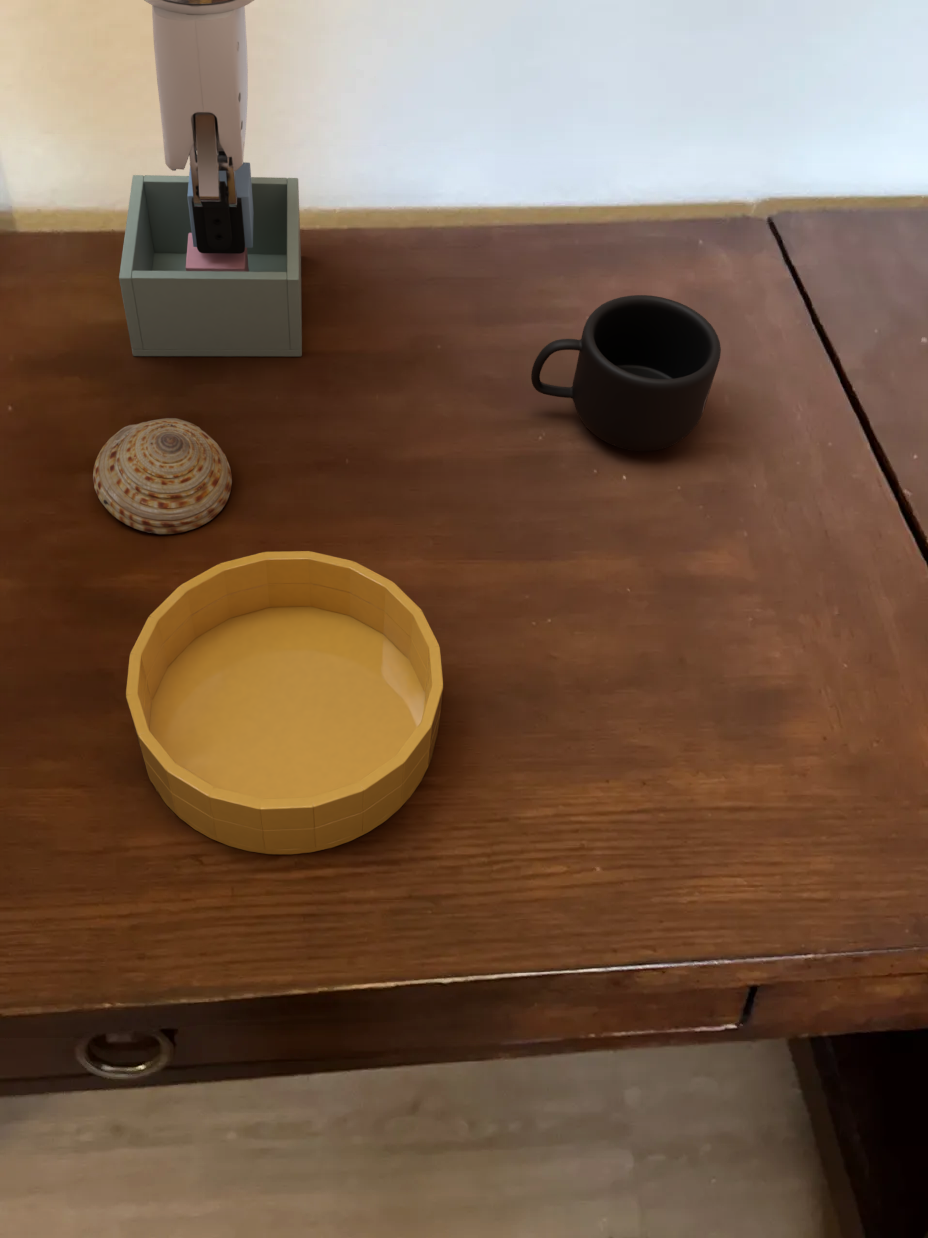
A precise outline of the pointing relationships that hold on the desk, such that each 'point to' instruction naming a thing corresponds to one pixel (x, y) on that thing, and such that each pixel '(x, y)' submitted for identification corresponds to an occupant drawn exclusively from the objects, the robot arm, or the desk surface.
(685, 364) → the mug
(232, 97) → the robot arm
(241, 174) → the toy blue
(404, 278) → the desk surface
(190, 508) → the seashell
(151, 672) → the bowl
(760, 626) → the desk surface
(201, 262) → the toy pink
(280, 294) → the bin
